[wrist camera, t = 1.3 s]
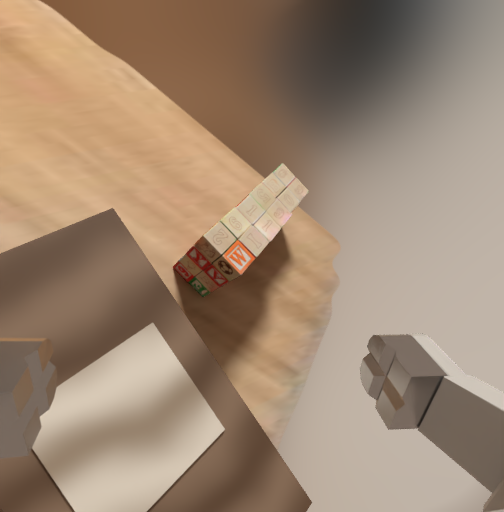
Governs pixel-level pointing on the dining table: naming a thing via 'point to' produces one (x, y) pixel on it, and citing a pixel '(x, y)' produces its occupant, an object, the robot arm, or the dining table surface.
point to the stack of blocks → (241, 233)
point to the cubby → (128, 390)
